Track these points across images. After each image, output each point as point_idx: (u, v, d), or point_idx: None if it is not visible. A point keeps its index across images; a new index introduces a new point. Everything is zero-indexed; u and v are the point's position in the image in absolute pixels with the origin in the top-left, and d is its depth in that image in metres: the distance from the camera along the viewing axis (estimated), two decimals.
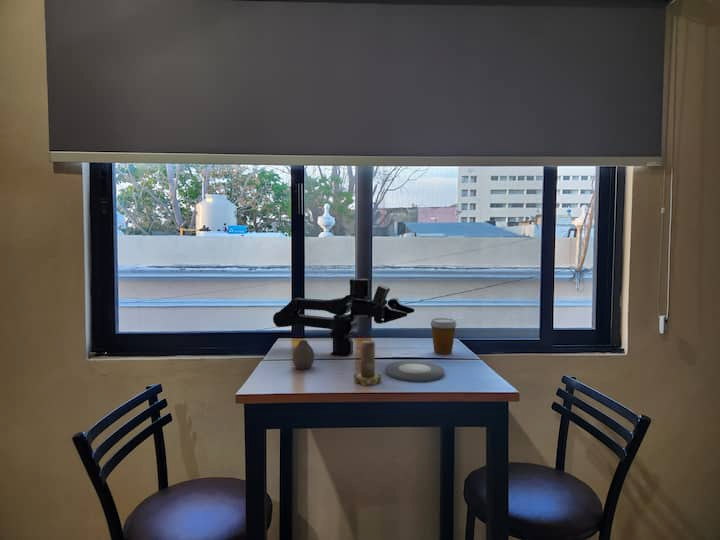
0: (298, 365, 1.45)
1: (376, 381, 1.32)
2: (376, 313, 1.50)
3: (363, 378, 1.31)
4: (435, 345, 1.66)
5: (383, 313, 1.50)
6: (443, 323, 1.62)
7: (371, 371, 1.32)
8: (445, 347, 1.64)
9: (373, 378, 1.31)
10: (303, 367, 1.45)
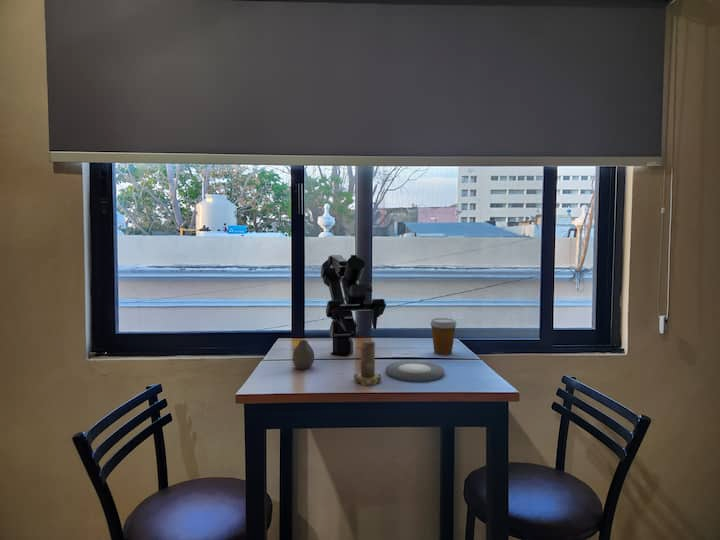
0: (298, 365, 1.45)
1: (376, 381, 1.32)
2: (327, 306, 1.44)
3: (363, 378, 1.31)
4: (435, 345, 1.66)
5: (332, 311, 1.43)
6: (443, 323, 1.62)
7: (371, 371, 1.32)
8: (445, 347, 1.64)
9: (373, 378, 1.31)
10: (303, 367, 1.45)
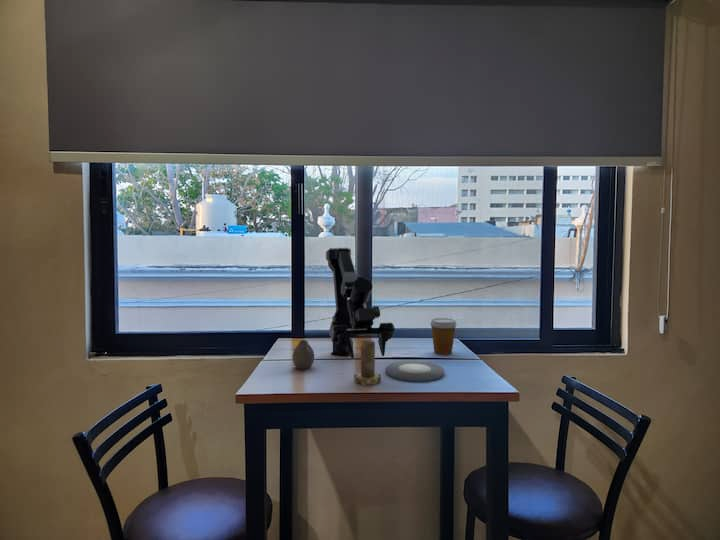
0: (298, 365, 1.45)
1: (376, 381, 1.32)
2: (332, 331, 1.36)
3: (363, 378, 1.31)
4: (435, 345, 1.66)
5: (337, 337, 1.35)
6: (443, 323, 1.62)
7: (371, 371, 1.32)
8: (445, 347, 1.64)
9: (373, 378, 1.31)
10: (303, 367, 1.45)
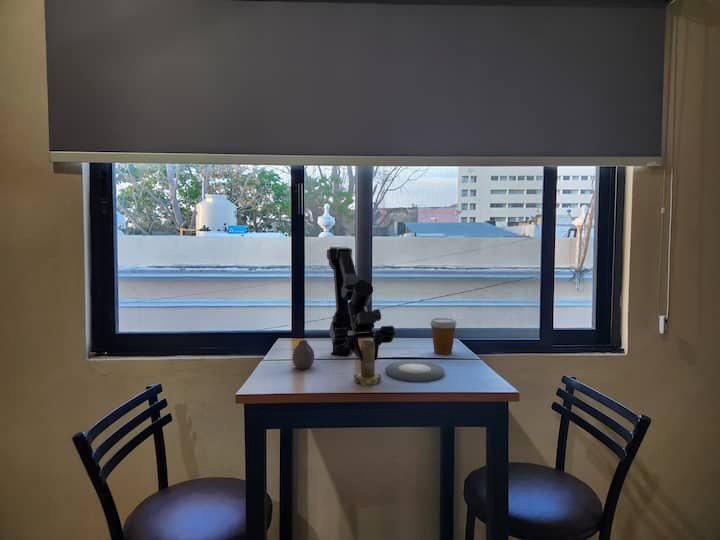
0: (298, 365, 1.45)
1: (376, 381, 1.32)
2: (333, 335, 1.35)
3: (363, 378, 1.31)
4: (435, 345, 1.66)
5: (346, 340, 1.35)
6: (443, 323, 1.62)
7: (371, 371, 1.32)
8: (445, 347, 1.64)
9: (373, 378, 1.31)
10: (303, 367, 1.45)
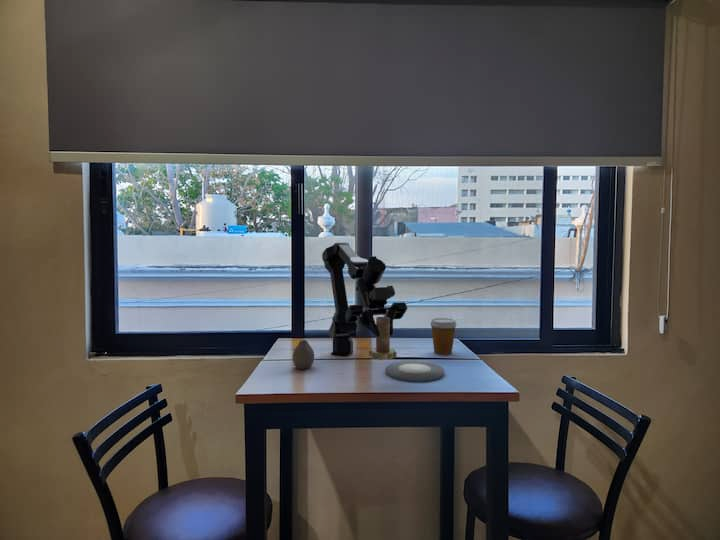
0: (298, 365, 1.45)
1: (392, 356, 1.33)
2: (347, 311, 1.35)
3: (380, 353, 1.32)
4: (435, 345, 1.66)
5: (361, 316, 1.35)
6: (443, 323, 1.62)
7: (387, 346, 1.33)
8: (445, 347, 1.64)
9: (390, 353, 1.33)
10: (303, 367, 1.45)
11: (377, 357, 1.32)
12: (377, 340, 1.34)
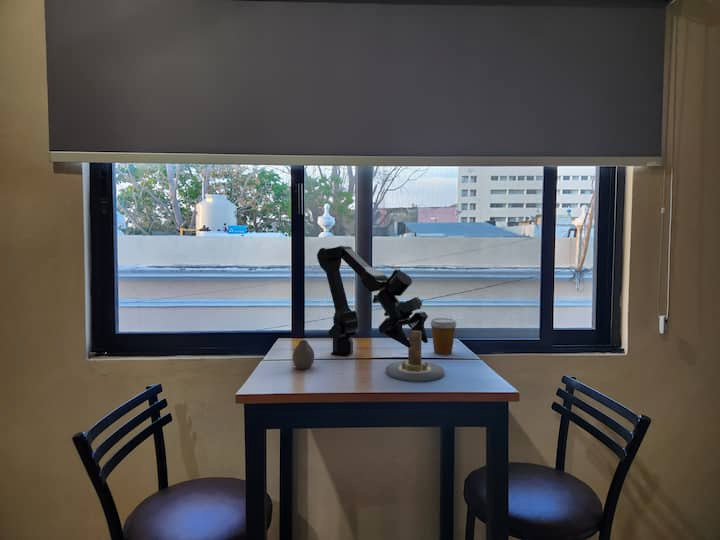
0: (298, 365, 1.45)
1: None
2: (383, 324, 1.38)
3: (416, 365, 1.39)
4: (435, 345, 1.66)
5: (390, 329, 1.39)
6: (443, 323, 1.62)
7: (420, 358, 1.41)
8: (445, 347, 1.64)
9: (424, 364, 1.41)
10: (303, 367, 1.45)
11: (414, 369, 1.39)
12: (411, 353, 1.41)
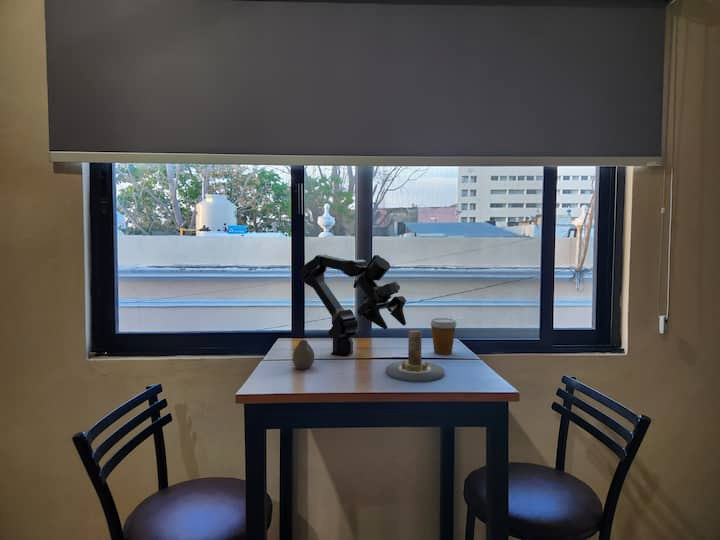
0: (298, 365, 1.45)
1: None
2: (362, 307, 1.44)
3: (416, 365, 1.39)
4: (435, 345, 1.66)
5: (368, 311, 1.44)
6: (443, 323, 1.62)
7: (420, 358, 1.41)
8: (445, 347, 1.64)
9: (424, 364, 1.41)
10: (303, 367, 1.45)
11: (414, 369, 1.39)
12: (411, 353, 1.41)
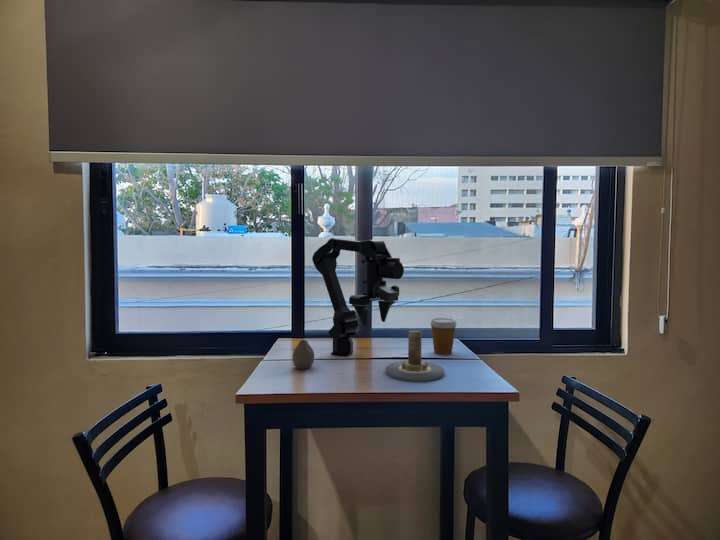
0: (298, 365, 1.45)
1: None
2: (355, 299, 1.47)
3: (416, 365, 1.39)
4: (435, 345, 1.66)
5: (358, 305, 1.48)
6: (443, 323, 1.62)
7: (420, 358, 1.41)
8: (445, 347, 1.64)
9: (424, 364, 1.41)
10: (303, 367, 1.45)
11: (414, 369, 1.39)
12: (411, 353, 1.41)
